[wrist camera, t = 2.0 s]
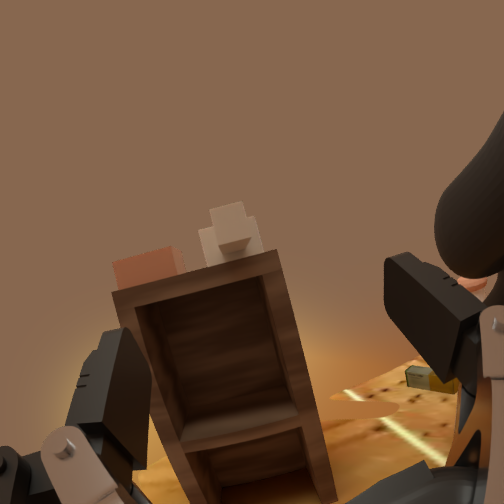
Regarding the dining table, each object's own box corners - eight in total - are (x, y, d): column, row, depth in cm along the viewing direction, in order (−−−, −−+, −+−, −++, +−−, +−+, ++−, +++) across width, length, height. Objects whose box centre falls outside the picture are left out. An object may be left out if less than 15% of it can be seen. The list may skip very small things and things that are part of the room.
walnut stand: (337, 500, 30) (276, 249, 32) (205, 530, 29) (111, 292, 30) (316, 456, 42) (264, 255, 44) (209, 482, 41) (142, 287, 42)
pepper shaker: (480, 347, 57) (469, 265, 58) (501, 352, 50) (491, 263, 50) (458, 360, 56) (446, 274, 57) (480, 367, 49) (469, 274, 50)
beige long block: (280, 242, 23) (265, 188, 23) (195, 265, 22) (182, 209, 22) (257, 257, 42) (249, 227, 43) (212, 269, 42) (205, 239, 42)
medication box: (406, 387, 55) (403, 370, 55) (414, 381, 56) (411, 364, 56) (454, 396, 44) (453, 377, 44) (461, 388, 45) (460, 369, 46)
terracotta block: (177, 275, 32) (170, 246, 32) (118, 290, 31) (112, 262, 31) (187, 275, 39) (181, 251, 39) (137, 288, 38) (131, 264, 38)
